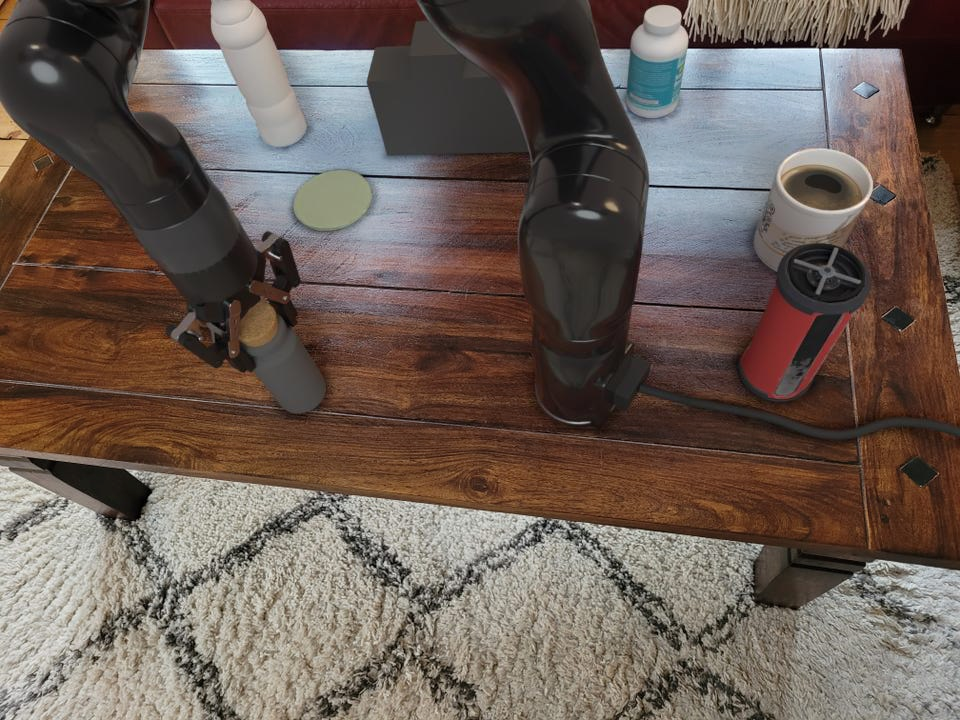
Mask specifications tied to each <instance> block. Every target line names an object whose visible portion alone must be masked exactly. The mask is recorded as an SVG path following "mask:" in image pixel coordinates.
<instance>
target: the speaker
mask: <svg viewBox="0 0 960 720" xmlns="http://www.w3.org/2000/svg"><path fill="white" fill-rule="evenodd" d="M871 290H872V277H871V274H870V272H869V269H868V268H867V266H866V265H865V264H864V262H863V261H862V260H861V259H860V258H859V257H858V256H857V255H856V254H854V253H852V252H851V251H850V250H848V249H846V248H844V247H843V248H842V247H839V246H836V245H832V244H825V243H810V244H804V245H800V246H798V247H795V248H793V249H792V250H790V251H789V252H787V253H786V254H785V255H784V257H783V258H782V259H781V261H780V263H779V266H778V270H777V272H776V280H775V283H774V286H773V288H772V291H771V293H770V295H769V298H768V301H767V304H766V305H765V309H764V311H763V313H762V316H761V318H760V320H759V323H758V325H757V327H756V329H755V331H754V333H753V335H752V338H751V340H750V342H749V343H748V345H746V347H745V348H744V349H743V350H742V351H741V354H740V356H739V358H738V361H737V372H738V376H739V378H740V380H741V382H742V384H743V385H744V386H745V387H746V388H747V390H749V392H751V393H752V394H753V395H755V396H757V397H759V398H762V399H764V400H765V401H766V400H767V401H771V402H776V403H778V402H779V403H781V402H782V403H783V402H784V403H785V402H791V401H794V400H797V399H799V398H800V397H802V396H803V395H805V394H806V393H807V391H809V389H810V388H811V386H812V384H813V383H814V380H815V376H816V374H817V373H818V371H819V370H820V369H821V366H822V365H823V363H824V362H825V361H826V360H827V359H826V358H827V357H828V355H829V354H830V353H831V351H832V349H833V348H834V346H835V344H836V343H837V342H838V340H839V338H840V337H841V336H842V333H843V332H844V330H845V328H847V325H848V324H849V323H850V321H851V320H852V318H853V316H854V315H855V313H856V312H857V311H858V310H859V309H860V308H861V307H862V306H863V304H864V303H865V301H867V298H868V297H869V295H870V293H871Z"/></svg>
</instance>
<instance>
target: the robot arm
mask: <svg viewBox="0 0 960 720" xmlns="http://www.w3.org/2000/svg"><path fill="white" fill-rule="evenodd" d="M415 1H416V3H417V5H418V7H419V9H420V10H421V12H422V13H423V15H424V16H425V18H426V21H429V23H430V24H431V26H432V27H433V28H434V30H435V31H436V32H437V33H438V34H439V35H440V36H441V37H442V38H443V39H444V40H445V41H446V42H447V43H448V44H449V45H450V46H451V47H452V48H453V49H454V50H455V51H457V52H458V53H459V54H460V55H462V56H463V57H464V58H466V59H467V60H468V61H470V62H471V63H472V64H474V65H475V66H477V67H478V68H479V69H481V70H482V71H484V72H485V73H486V74H488V75H489V76H490V77H491V78H493V79H494V80H495V81H496V82H497V83H498V85H499V86H500V87H501V88H502V90H503V91H504V93H505V94H506V96H507V98H508V100H509V102H510V104H511V105H512V108H513V110H514V112H515V114H516V117H517V119H518V122H519V124H520V127H521V129H522V132H523V135H524V138H525V141H526V144H527V147H528V151H529V152H528V154H529V159H530V160H529V161H530V172H529V173H530V174H529V177H528V183H527V187H526V190H525V191H526V192H525V194H524V199H523V204H522V208H521V213H520V216H519V221H518V227H517V255H518V264H519V272H520V279H521V286H522V291H523V296H524V298H525V300H526V302H527V303H528V305H529V307H530V308H529V309H530V323H531V338H532V340H531V341H532V353H533V367H534V368H533V369H534V393H535V398H536V401H537V404H538V406H539V408H540V409H541V410H542V412H543V413H544V414H545V415H546V416H547V417H548V418H550V420H553V421H554V422H556V423H558V424H559V425H563V426H566V427H569V428H570V427H572V428H587V427H592V428H593V429H594V428H595V429H596V430H601V429H602V428H603V427H604V426H605V424H606V422H607V420H608V419H609V417H610V416H611V415H612V413H613V412H614V411H615V409H617V407H618V408H620V409H622V410H624V411H627V410H628V408H630V406H631V404H632V402H633V401H634V399H635V397H636V396H637V394H638V393H640V394H643V395H647V396H651V397H654V398H657V399H659V400H664V401H668V402H672V403H676V404H679V405H684V406H689V407H694V408H698V409H703V410H709V411H715V412H720V413H726V414H731V415H736V416H740V417H747V418H751V419H756V420H759V421H763V422H767V423H770V424H774V425H777V426H780V427H783V428H785V429H788V430H790V431H793V432H795V433H799V434H802V435H804V436H809V437H812V438H816V439H823V440H831V441H841V440H842V441H843V440H850V439H855V438H860V437H862V436H865V435H869V434H872V433H874V432H875V433H876V432H878V431H881V430H885V429H890V428H917V429H926V430H931V431H936V432H940V433H945V434H947V435H948V434H949V435H951V436H954V437H956V438H958V439H960V426H958V425H955V424H953V423H948V422H945V421H940V420H935V419H929V418H921V417H908V416H892V417H887V418H882V419H878V420H877V419H876V420H874V421H872V422H868V423H865V424H863V425H860V426H856V427H853V428H847V429H825V428H820V427H814V426H811V425H808V424H805V423H802V422H799V421H797V420H793V419H790V418H788V417H785V416H782V415H780V414H777V413H773V412H770V411H765V410H761V409H756V408H752V407H747V406H742V405H738V404H731V403H726V402H720V401H714V400H709V399H705V398H699V397H694V396H690V395H686V394H681V393H677V392H674V391H669V390H667V389H662V388H659V387H655V386H652V385H649V384H647V383H645V382H646V380H647V379H648V377H649V375H650V370H651V367H652V363H651V362H649V361H646V360H645V359H642V358H640V357H638V356H636V355H634V356H633V354H634V349H635V343H634V342H633V341H631V340H629V339H628V337H629V332H630V331H629V330H630V324H631V318H632V313H633V312H632V311H633V306H634V304H635V300H636V293H637V286H638V281H639V273H640V267H641V261H642V255H643V254H642V253H643V247H644V237H645V226H646V219H647V209H648V200H649V191H650V172H649V165H648V162H647V157H646V154H645V151H644V149H643V147H642V144H641V142H640V140H639V137H638V135H637V133H636V131H635V128H634V126H633V123H632V122H631V119H630V118H629V116H628V114H627V111H626V109H625V107H624V105H623V102H622V100H621V98H620V96H619V93H618V91H617V89H616V87H615V84H614V82H613V80H612V77H611V75H610V74H609V73H610V72H609V70H608V68H607V65H606V62H605V60H604V57H603V54H602V50H601V46H600V43H599V39H598V34H597V29H596V25H595V20H594V17H593V12H592V9H591V4H590V1H589V0H415ZM150 2H151V0H17V1H16V3H15V5H14V7H13V10H12V11H11V13H10V15H9V18H8V19H7V21H6V23H5V24H4V26H3V28H2V30H1V32H0V105H1V106H2V108H3V109H4V111H5V112H6V113H7V115H8V116H9V117H10V118H11V120H12V121H13V122H14V123H15V124H16V125H17V126H18V127H19V128H20V129H21V130H22V131H23V132H24V133H26V134H27V135H28V136H29V137H30V138H32V139H33V140H35V141H36V142H38V143H39V144H40V145H41V146H43V147H44V148H46V149H47V150H49V151H50V152H52V153H53V154H54V155H55V156H57V157H58V158H60V159H61V160H63V161H64V162H65V163H67V164H68V165H70V167H72V168H73V169H74V170H76V171H77V172H79V173H80V174H82V175H83V176H85V177H86V178H88V179H89V180H90V181H92V182H93V183H95V184H96V185H97V186H98V187H99V189H100V190H101V192H102V193H103V194H104V196H105V197H106V198H107V199H108V200H109V202H110V203H111V204H112V206H113V207H114V208H115V209H116V211H118V213H119V215H121V217H122V218H123V219H124V220H125V222H126V223H127V225H128V226H129V228H130V230H131V231H132V233H133V235H134V237H135V238H136V240H137V242H138V243H139V244H140V246H141V248H143V250H144V252H145V254H146V255H147V257H148V258H149V259H150V260H151V261H153V262H154V263H155V264H156V265H157V267H158V268H159V269H160V270H161V272H162V273H163V275H165V277H166V278H167V280H169V282H170V283H171V284H172V286H174V289H175V290H176V291H178V293H179V294H180V295H181V297H182V298H183V299H184V300H185V304H186V311H187V314H186V316H185V317H184V318H183V319H182V321H180V323H179V324H178V325H177V324H176V323H171V324H168V325H167V327H166V328H165V330H164V331H165V332H164V333H165V335H166V336H167V337H168V338H170V339H171V340H172V341H174V342H176V343H177V344H178V345H180V346H182V347H183V348H185V349H186V350H187V351H189V352H190V353H192V355H194V356H196V357H197V358H199V359H200V360H201V361H203V362H205V363H206V364H208V365H209V366H211V367H212V368H214V369H220V368H221V367H222V366H223V365H224V362H225V360H226V362H227V363H228V364H229V365H230V366H231V367H232V368H234V369H235V370H237V371H238V372H239V373H243V374H245V373H246V372H249V373H252V372H253V370H254V369H255V368H256V367H255V365H254V364H253V363H252V361H251V360H250V359H249V358H248V356H247V355H246V354H245V352H244V351H243V350H242V349H240V347H239V336H241V335H242V333H241V322H240V320H241V319H242V318H243V317H244V316H245V315H246V313H247V312H248V310H249V309H250V308H252V307H253V306H254V305H256V304H257V303H258V302H259V301H262V298H265V299H266V300H267V303H268V304H270V305H271V306H272V307H273V308H274V310H275V312H276V313H278V314H279V315H280V316H281V317H282V318H283V320H284V322H285V323H286V324H288V325H289V326H291V327H292V328H294V327H296V325H298V323H299V321H298V319H297V318H298V316H299V313H298V310H297V309H296V306H295V305H294V304H293V301H292V300H291V298H292V294H290V293H291V291H292V290H293V289H296V288H298V287H299V286H300V285H301V281H302V279H301V276H300V272H299V270H298V266H297V263H296V260H295V257H294V253H293V250H292V247H291V244H290V241H289V240H287V239H284V238H283V237H281V236H280V235H278V234H277V233H273V232H272V231H270V230H267V231H264V233H263V234H262V236H261V241H262V242H261V243H260V244H258V245H257V246H254V244H253V242H252V241H251V238H250V237H249V235H248V234H247V231H246V230H245V228H244V227H243V225H242V224H241V221H240V220H239V218H238V216H237V215H236V214H235V212H234V210H233V208H232V207H231V205H230V203H229V202H228V199H226V197H225V195H224V194H223V192H222V191H221V189H220V188H219V187H218V186H217V185H216V184H215V182H214V181H213V179H211V177H210V176H209V174H208V173H207V171H206V169H205V167H204V166H203V165H202V162H201V160H200V159H199V158H198V156H197V154H196V152H195V151H194V149H193V148H192V146H191V144H190V143H189V141H188V140H187V138H186V137H185V135H184V134H183V132H182V131H181V130H180V129H179V128H178V127H177V125H176V124H175V123H174V122H173V121H171V119H169V118H167V117H166V116H165V115H162V114H160V113H158V112H154V111H150V110H138V111H132V109H131V107H130V105H129V102H128V96H129V93H130V90H131V87H132V85H133V81H134V79H135V77H136V76H135V75H136V74H137V70H138V67H139V63H140V61H141V56H142V52H143V48H144V43H145V38H146V33H147V29H148V27H147V26H148V20H149V12H150ZM267 260H268V262H269V264H270V267H271V269H272V273H273V275H274V280H273V282H269V281H267V280H265V278H266V277H265V276H266V275H265V274H266V267H267ZM201 323H205V324H206V326H207V328H208V329H209V330H210V335H211V342H212V343H211V344H209V345H208V346H207V345H206V344H205V343H204V342H202V341H204V336H203V335H202V331H201V330H200V325H201Z"/></svg>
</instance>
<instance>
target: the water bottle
mask: <svg viewBox="0 0 960 720" xmlns="http://www.w3.org/2000/svg"><path fill="white" fill-rule="evenodd" d="M210 2H211V7H210V15H211V17H210V29H211V34H212V36H213V38H214V41H215V42H216V43H217V44H218V45H219V49H220V51H221V53H222V57H223V58H224V61H225V63H226V66H227V67H228V70H229V72H230V75H231V76H232V78H233V80H234V82H235V84H236V86H237V88H238V90H239V91H240V94H241V95H242V97H243V99H244V100H245V103H246V107H247V109H248V112H249V114H250V115H251V118H252V119H253V120H254V122H255V125H256V126H255V127H256V128H257V131H258V133H259V136H260V137H261V140H262V141H263V142H264V143H265V144H266V145H268V146H270V147H275V148H286V147H290V146H293V145H294V144H296V143H298V142H299V141H300V140H302V139H303V137H304V136H305V134H306V132H307V129H308V125H307V121H306V118H305V115H304V114H303V111H302V110H301V107H300V106H299V102H298V98H297V96H296V94H295V91H294V89H293V87H292V86H291V84H290V81H289V78H288V75H287V71H286V68H285V65H284V63H283V61H282V58H281V55H280V53H279V51H278V48H277V46H276V43H275V41H274V39H273V37H272V35H271V32H270V30H269V29H268V24H267V20H266V17H265V14H264V13H263V12H262V10H260V8H259V7H258V6H256V5H255V4H254V3H253V2H252V1H251V0H210Z"/></svg>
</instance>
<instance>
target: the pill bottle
mask: <svg viewBox="0 0 960 720" xmlns="http://www.w3.org/2000/svg"><path fill="white" fill-rule="evenodd" d="M688 47H689V34H688V32H687V29H686V28H685V27H684V26H683V25H682V12H681V10H679V8H677V7H675V6H673V5H668V4H667V5H666V4H659V5H654V6H652V7H650V8H648V9H647V10H646V11H645V13H644V15H643V23H642V24H640V25H639V26H638V27H637V28H636V29H635V30H634V31H633V34H632V36H631V38H630V49H629V59H628V70H627V81H626V92H625V103H626V106H627V108H628V109H629V110H630V112H631V113H633V114H635V115H636V116H639V117H641V118H646V119H657V118H658V119H659V118H663V117H665V116H667V115H669V114H671V113H672V112H674V110H675V109H676V108H677V106H678V103H679V99H680V93H681V89H682V82H683V76H684V70H685V65H686V58H687V52H688Z"/></svg>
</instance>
